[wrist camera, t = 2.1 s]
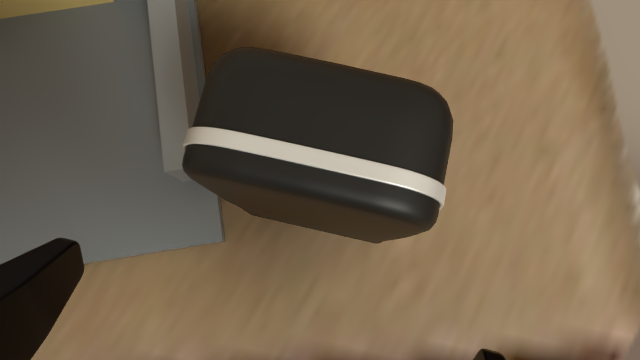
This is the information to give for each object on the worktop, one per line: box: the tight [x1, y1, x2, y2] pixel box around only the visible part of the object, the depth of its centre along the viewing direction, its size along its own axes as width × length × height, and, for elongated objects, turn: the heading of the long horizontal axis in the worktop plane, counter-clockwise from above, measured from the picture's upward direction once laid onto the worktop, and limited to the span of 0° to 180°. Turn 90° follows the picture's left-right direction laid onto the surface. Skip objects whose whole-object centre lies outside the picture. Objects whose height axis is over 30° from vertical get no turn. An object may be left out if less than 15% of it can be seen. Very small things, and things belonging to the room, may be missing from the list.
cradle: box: [0, 0, 225, 264], centre depth 20 cm, size 16×14×3 cm
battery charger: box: [182, 47, 453, 243], centre depth 16 cm, size 7×4×11 cm, turn 77°
